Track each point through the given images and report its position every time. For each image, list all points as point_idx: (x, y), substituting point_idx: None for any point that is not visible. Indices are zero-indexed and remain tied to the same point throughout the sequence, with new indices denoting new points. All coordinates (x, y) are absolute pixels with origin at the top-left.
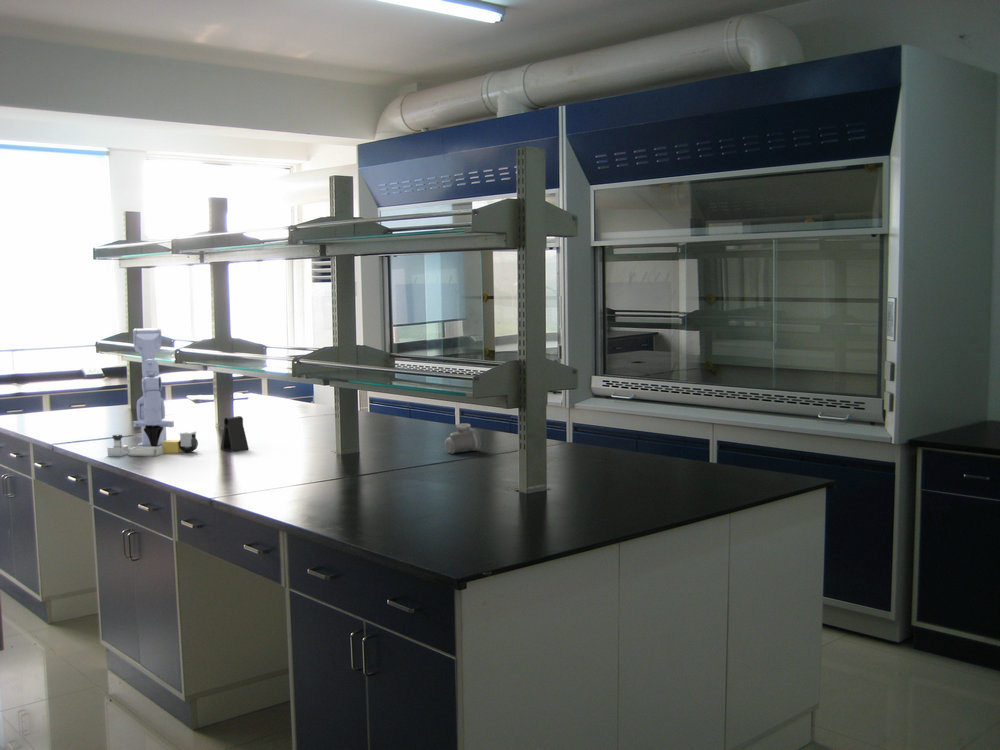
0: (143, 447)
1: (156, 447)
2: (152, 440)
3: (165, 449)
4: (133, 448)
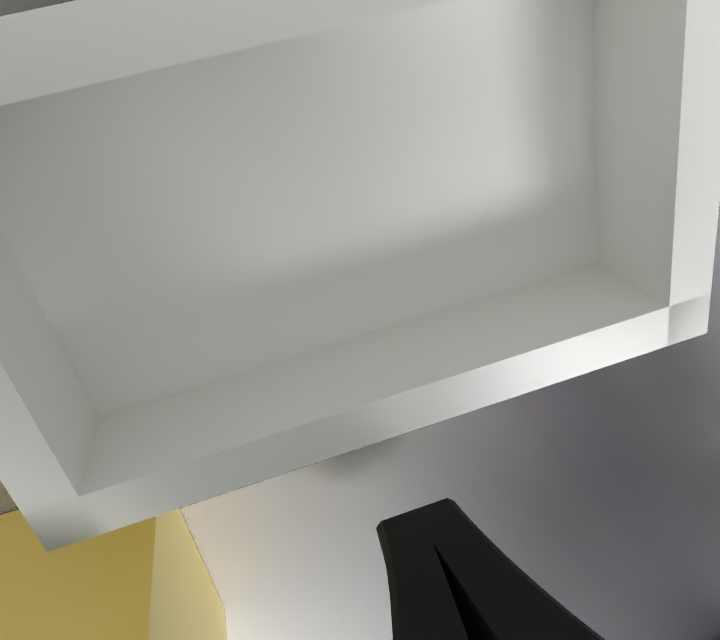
0: (530, 341)
1: (199, 449)
2: (458, 620)
3: None
4: (676, 91)
